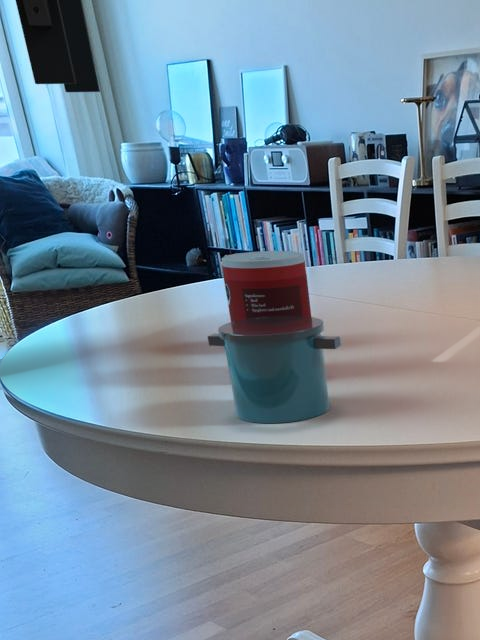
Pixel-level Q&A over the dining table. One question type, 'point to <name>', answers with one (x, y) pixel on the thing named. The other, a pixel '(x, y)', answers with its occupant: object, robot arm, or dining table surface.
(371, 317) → the dining table surface
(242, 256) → the canned food
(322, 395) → the enamel pot
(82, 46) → the robot arm
